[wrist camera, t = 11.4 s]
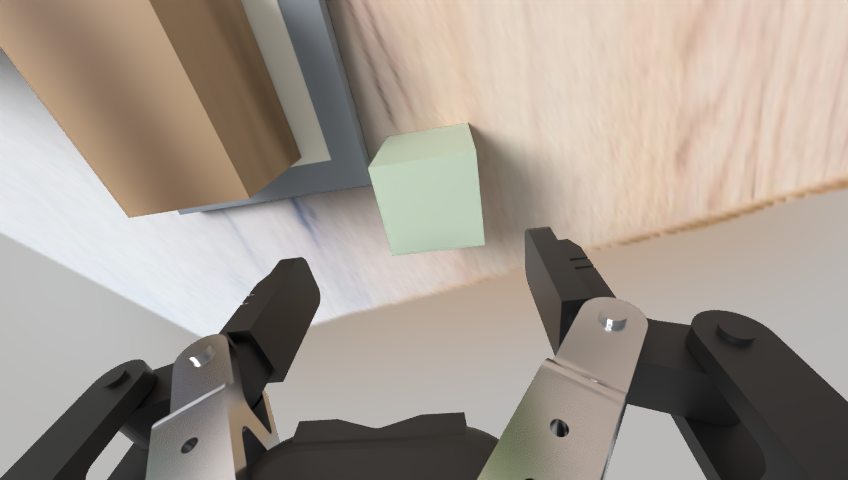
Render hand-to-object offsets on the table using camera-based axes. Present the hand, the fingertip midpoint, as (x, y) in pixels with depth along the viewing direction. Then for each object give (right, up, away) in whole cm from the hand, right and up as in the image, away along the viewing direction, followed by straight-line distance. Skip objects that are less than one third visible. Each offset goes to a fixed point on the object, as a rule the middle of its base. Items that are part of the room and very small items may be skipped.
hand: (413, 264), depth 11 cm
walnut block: (-11, +9, +6) cm, 16 cm away
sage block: (+1, +6, +9) cm, 11 cm away
